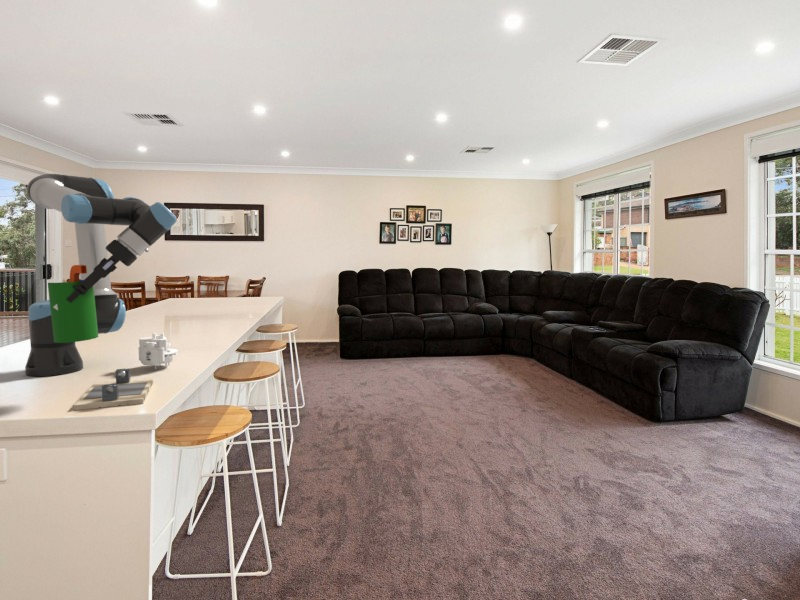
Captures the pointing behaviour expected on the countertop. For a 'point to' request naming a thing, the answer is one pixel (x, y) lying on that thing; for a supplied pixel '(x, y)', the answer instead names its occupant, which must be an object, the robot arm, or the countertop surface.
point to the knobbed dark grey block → (110, 392)
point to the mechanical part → (155, 350)
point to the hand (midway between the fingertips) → (59, 309)
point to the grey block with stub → (122, 376)
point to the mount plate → (127, 392)
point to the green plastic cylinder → (72, 310)
